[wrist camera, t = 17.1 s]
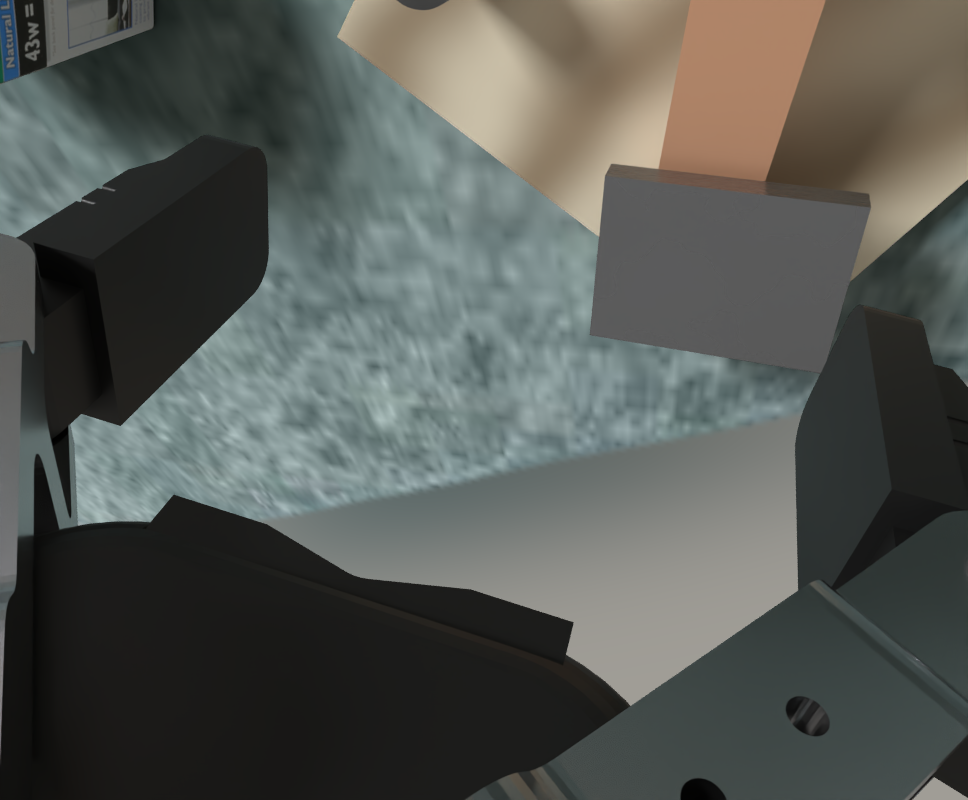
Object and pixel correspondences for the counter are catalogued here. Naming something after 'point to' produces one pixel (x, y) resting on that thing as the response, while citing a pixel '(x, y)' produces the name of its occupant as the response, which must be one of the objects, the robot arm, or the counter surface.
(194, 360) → the counter surface
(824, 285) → the block
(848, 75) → the board
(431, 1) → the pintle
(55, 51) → the light bulb box
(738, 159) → the link
